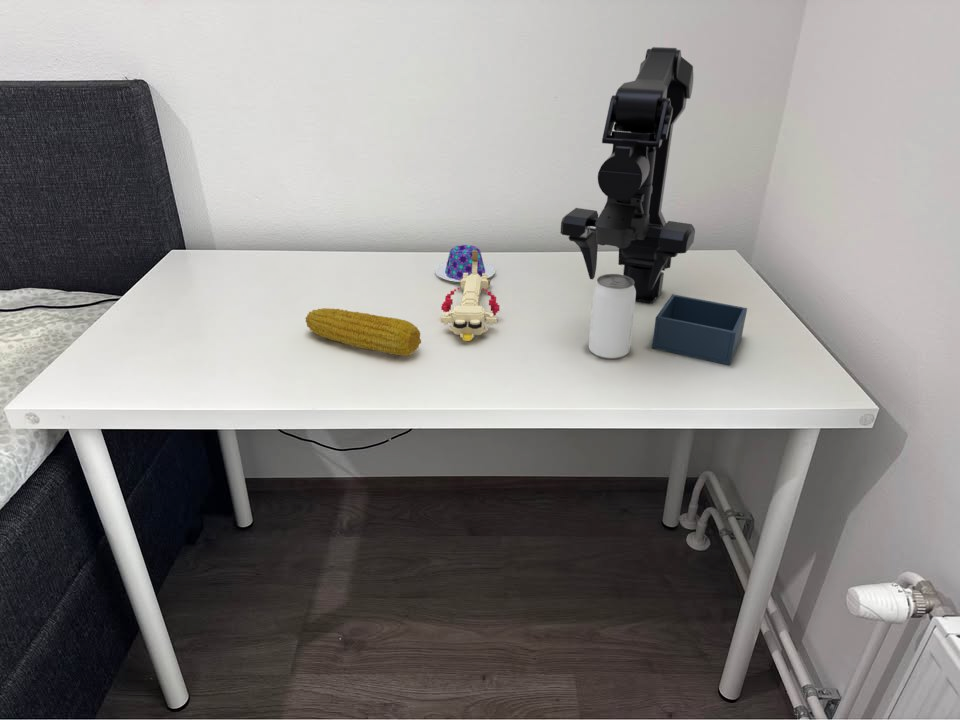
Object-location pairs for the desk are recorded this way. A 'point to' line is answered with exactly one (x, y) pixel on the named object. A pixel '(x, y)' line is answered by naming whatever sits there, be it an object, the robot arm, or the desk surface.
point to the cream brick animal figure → (470, 305)
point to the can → (612, 316)
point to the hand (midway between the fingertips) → (621, 283)
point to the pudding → (462, 264)
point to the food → (365, 330)
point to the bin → (699, 329)
